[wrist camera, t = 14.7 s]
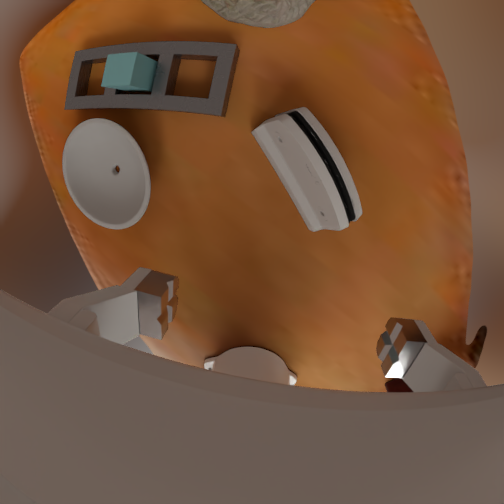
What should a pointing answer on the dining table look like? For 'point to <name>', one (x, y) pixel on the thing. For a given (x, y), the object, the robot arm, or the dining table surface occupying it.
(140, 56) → the square peg
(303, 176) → the white arch segment
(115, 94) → the grey slotted board
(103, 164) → the dish
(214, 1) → the ceramic cottage
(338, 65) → the dining table surface
